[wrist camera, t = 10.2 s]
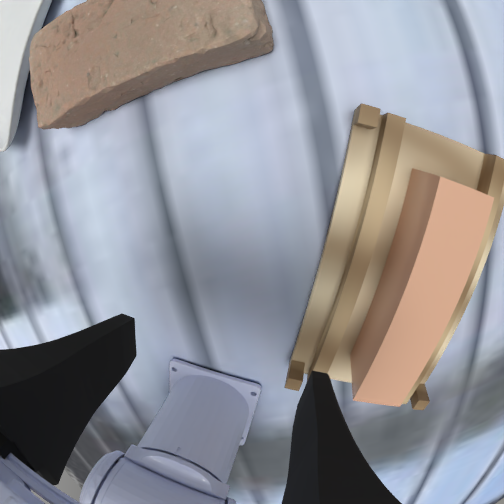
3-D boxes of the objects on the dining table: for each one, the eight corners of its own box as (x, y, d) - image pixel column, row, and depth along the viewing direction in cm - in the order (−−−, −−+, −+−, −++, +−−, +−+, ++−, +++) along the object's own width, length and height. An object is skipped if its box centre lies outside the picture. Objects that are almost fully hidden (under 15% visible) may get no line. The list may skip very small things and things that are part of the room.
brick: (251, -40, 14) (232, -76, 9) (281, 56, 16) (267, 30, 12) (65, 46, 18) (25, 39, 14) (75, 131, 20) (32, 135, 16)
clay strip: (390, 362, 20) (399, 406, 16) (350, 355, 20) (352, 400, 16) (457, 184, 15) (494, 197, 11) (412, 168, 15) (440, 176, 11)
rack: (416, 384, 21) (423, 410, 18) (289, 361, 23) (284, 387, 20) (504, 166, 14) (529, 171, 12) (354, 110, 16) (361, 103, 13)
